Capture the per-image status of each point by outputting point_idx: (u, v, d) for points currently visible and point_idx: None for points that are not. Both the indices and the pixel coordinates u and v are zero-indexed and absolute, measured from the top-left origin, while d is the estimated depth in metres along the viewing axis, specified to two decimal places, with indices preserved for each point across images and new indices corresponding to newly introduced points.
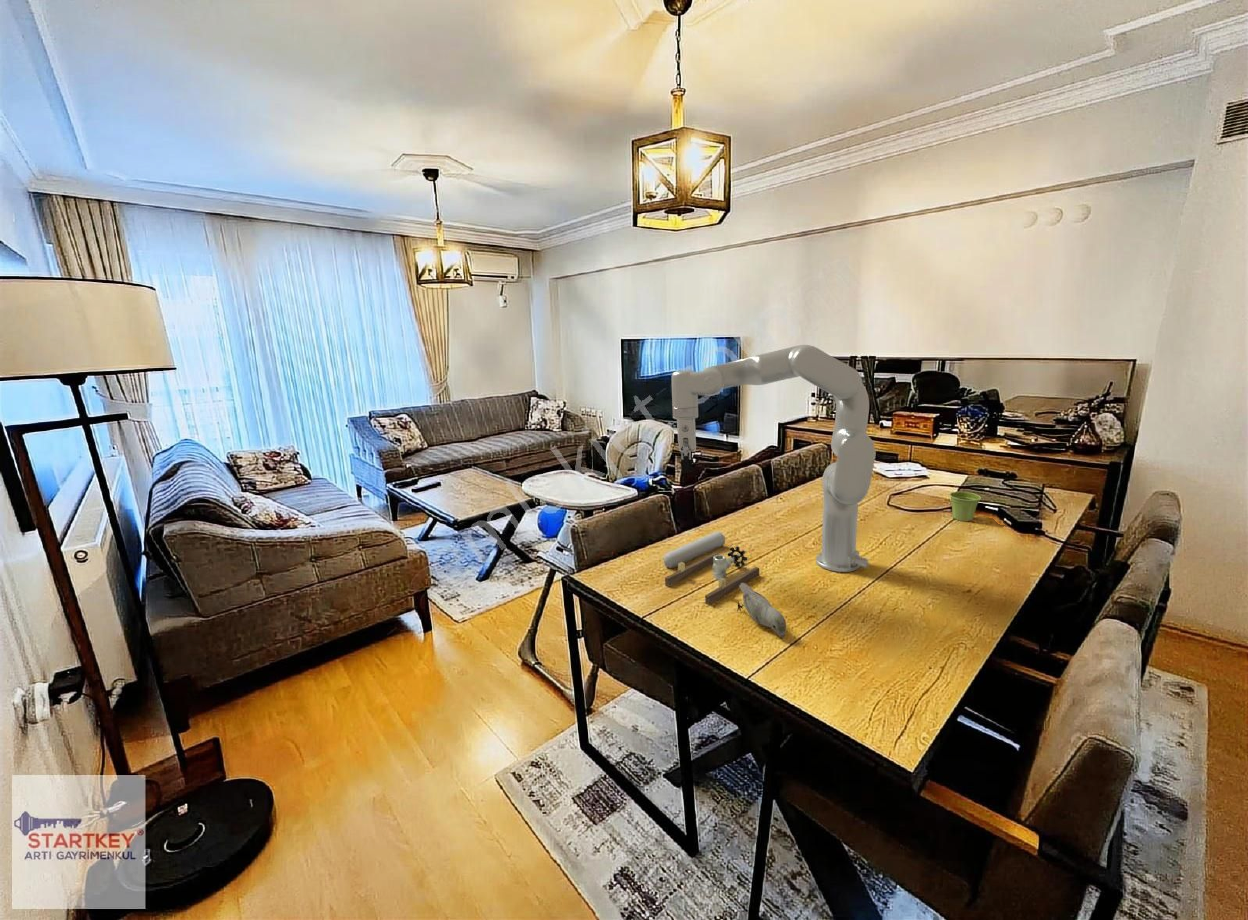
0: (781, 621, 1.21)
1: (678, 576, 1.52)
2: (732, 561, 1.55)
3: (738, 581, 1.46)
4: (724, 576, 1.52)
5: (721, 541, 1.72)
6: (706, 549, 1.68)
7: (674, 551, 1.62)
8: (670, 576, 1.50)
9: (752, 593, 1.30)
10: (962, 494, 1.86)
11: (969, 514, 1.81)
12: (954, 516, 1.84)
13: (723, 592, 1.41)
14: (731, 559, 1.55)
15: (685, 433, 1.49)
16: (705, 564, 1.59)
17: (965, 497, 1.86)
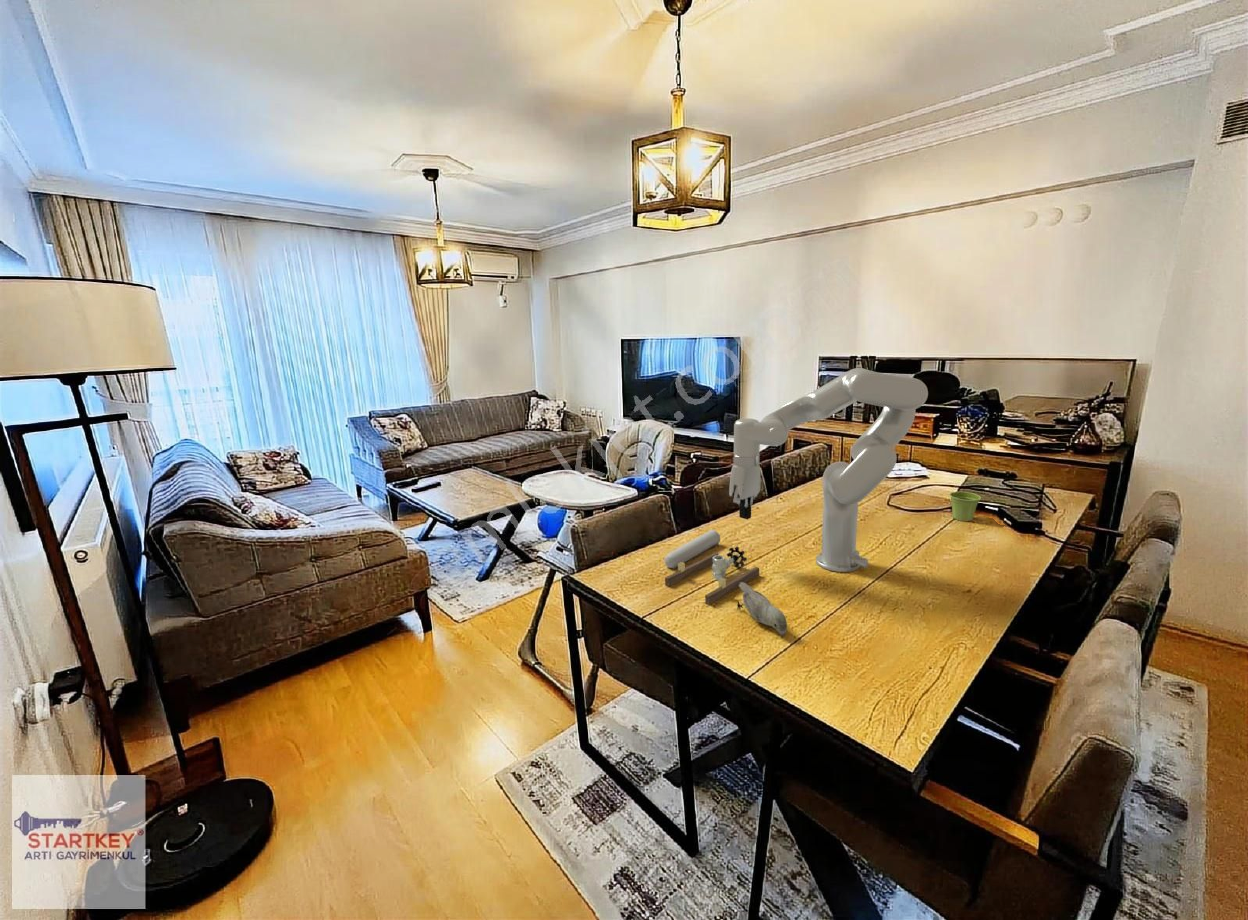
0: (782, 619, 1.21)
1: (678, 576, 1.52)
2: (731, 561, 1.55)
3: (738, 581, 1.46)
4: (723, 576, 1.51)
5: (716, 539, 1.74)
6: (704, 548, 1.69)
7: (675, 551, 1.62)
8: (670, 576, 1.50)
9: (752, 592, 1.30)
10: (962, 494, 1.86)
11: (969, 514, 1.81)
12: (954, 516, 1.84)
13: (723, 592, 1.41)
14: (730, 559, 1.55)
15: None
16: (705, 564, 1.59)
17: (965, 497, 1.86)
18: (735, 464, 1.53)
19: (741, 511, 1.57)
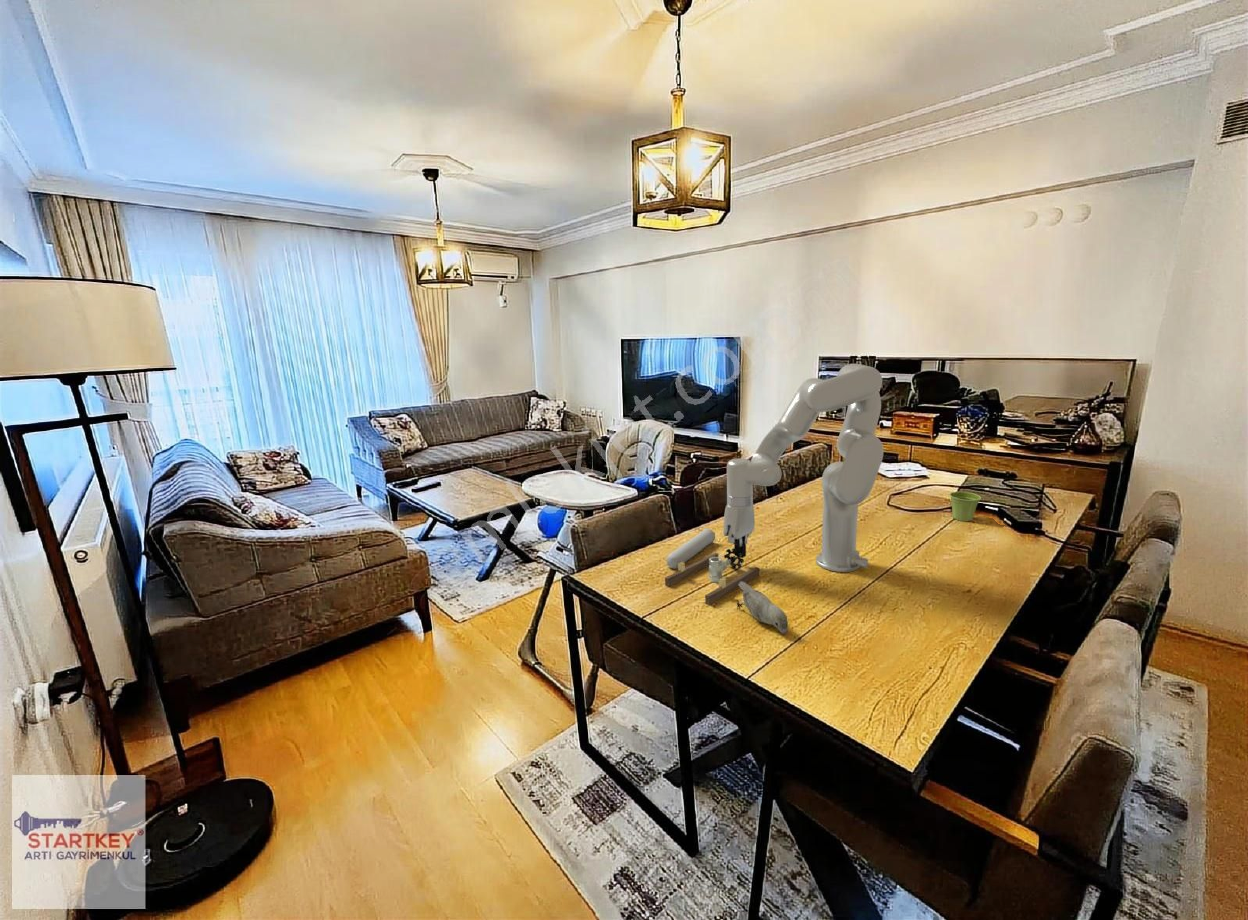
0: (783, 618, 1.22)
1: (678, 576, 1.52)
2: (728, 563, 1.54)
3: (738, 581, 1.46)
4: (720, 578, 1.50)
5: (712, 537, 1.75)
6: (702, 547, 1.70)
7: (676, 551, 1.62)
8: (670, 576, 1.50)
9: (752, 591, 1.31)
10: (962, 494, 1.86)
11: (969, 514, 1.81)
12: (954, 516, 1.84)
13: (723, 592, 1.41)
14: (727, 561, 1.54)
15: None
16: (705, 564, 1.59)
17: (965, 497, 1.86)
18: (728, 504, 1.54)
19: (736, 550, 1.58)
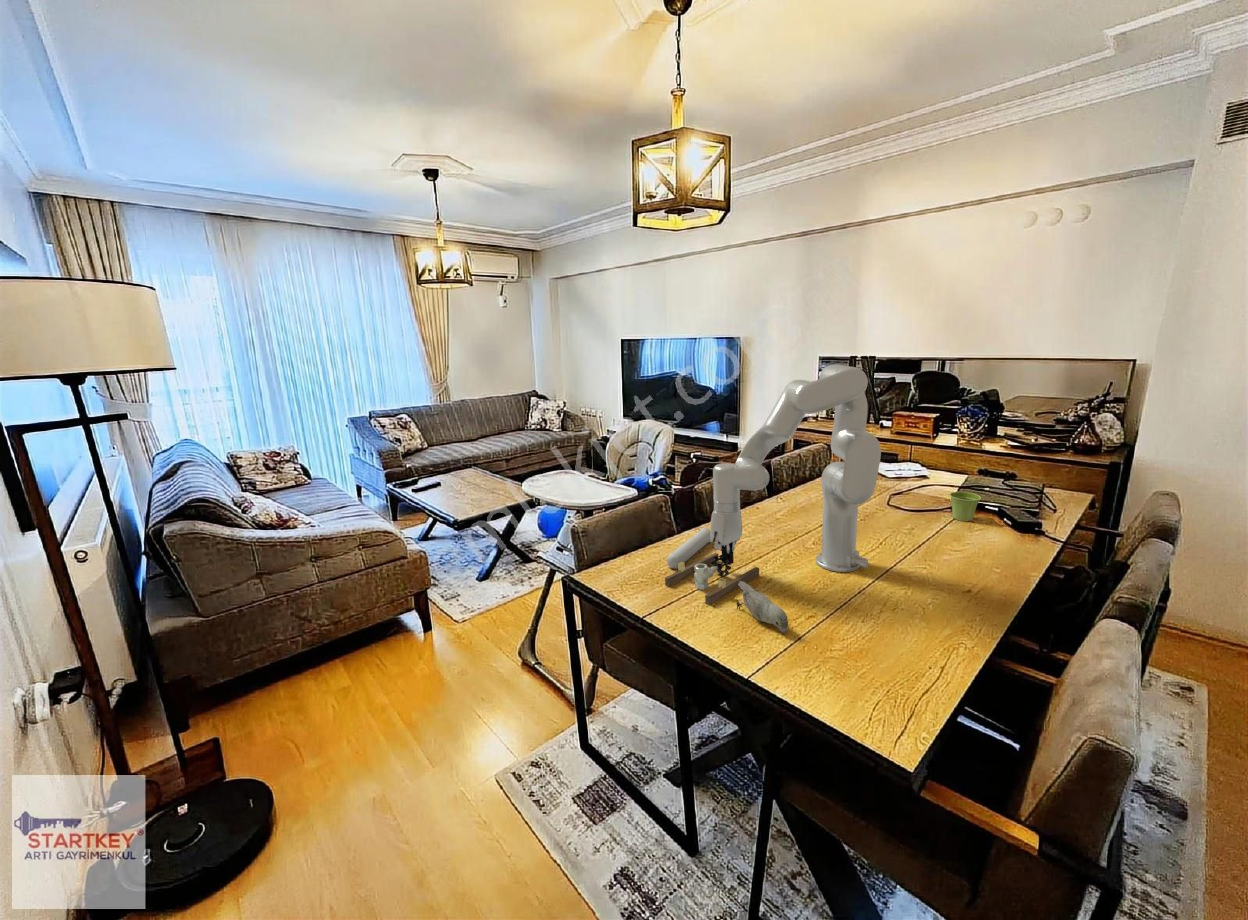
0: (784, 617, 1.22)
1: (678, 576, 1.52)
2: (715, 570, 1.50)
3: (738, 581, 1.46)
4: (706, 586, 1.46)
5: None
6: (700, 546, 1.70)
7: (676, 551, 1.62)
8: (670, 576, 1.50)
9: (752, 591, 1.31)
10: (962, 494, 1.86)
11: (969, 514, 1.81)
12: (954, 516, 1.84)
13: (723, 592, 1.41)
14: (714, 568, 1.50)
15: None
16: None
17: (965, 497, 1.86)
18: (715, 510, 1.50)
19: (723, 556, 1.54)
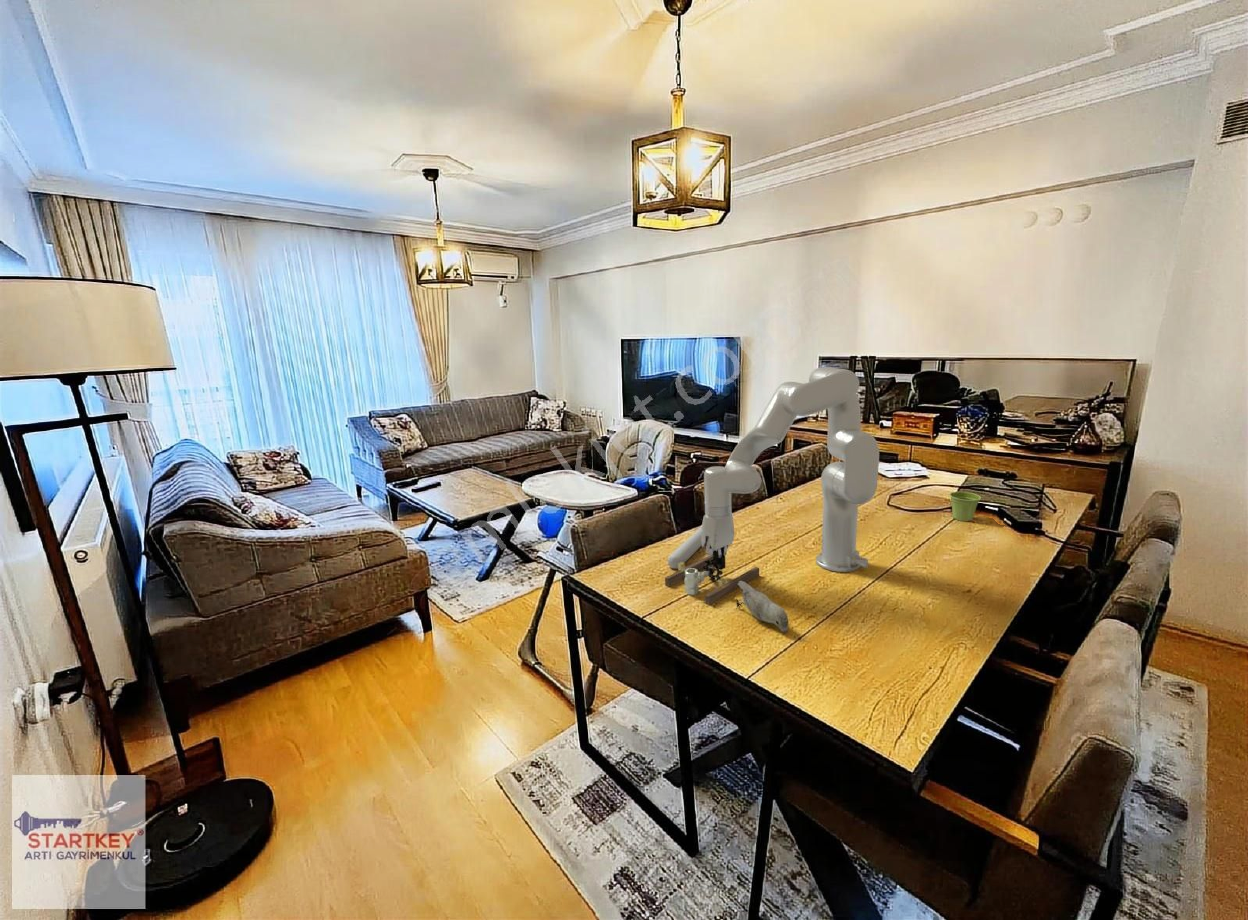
0: (784, 616, 1.23)
1: (678, 576, 1.52)
2: (706, 575, 1.47)
3: (738, 581, 1.46)
4: (696, 591, 1.44)
5: None
6: (699, 546, 1.71)
7: (676, 551, 1.62)
8: (670, 576, 1.50)
9: (752, 590, 1.31)
10: (962, 494, 1.86)
11: (969, 514, 1.81)
12: (954, 516, 1.84)
13: (723, 592, 1.41)
14: (705, 573, 1.48)
15: None
16: (705, 564, 1.59)
17: (965, 497, 1.86)
18: (706, 514, 1.47)
19: (715, 561, 1.51)
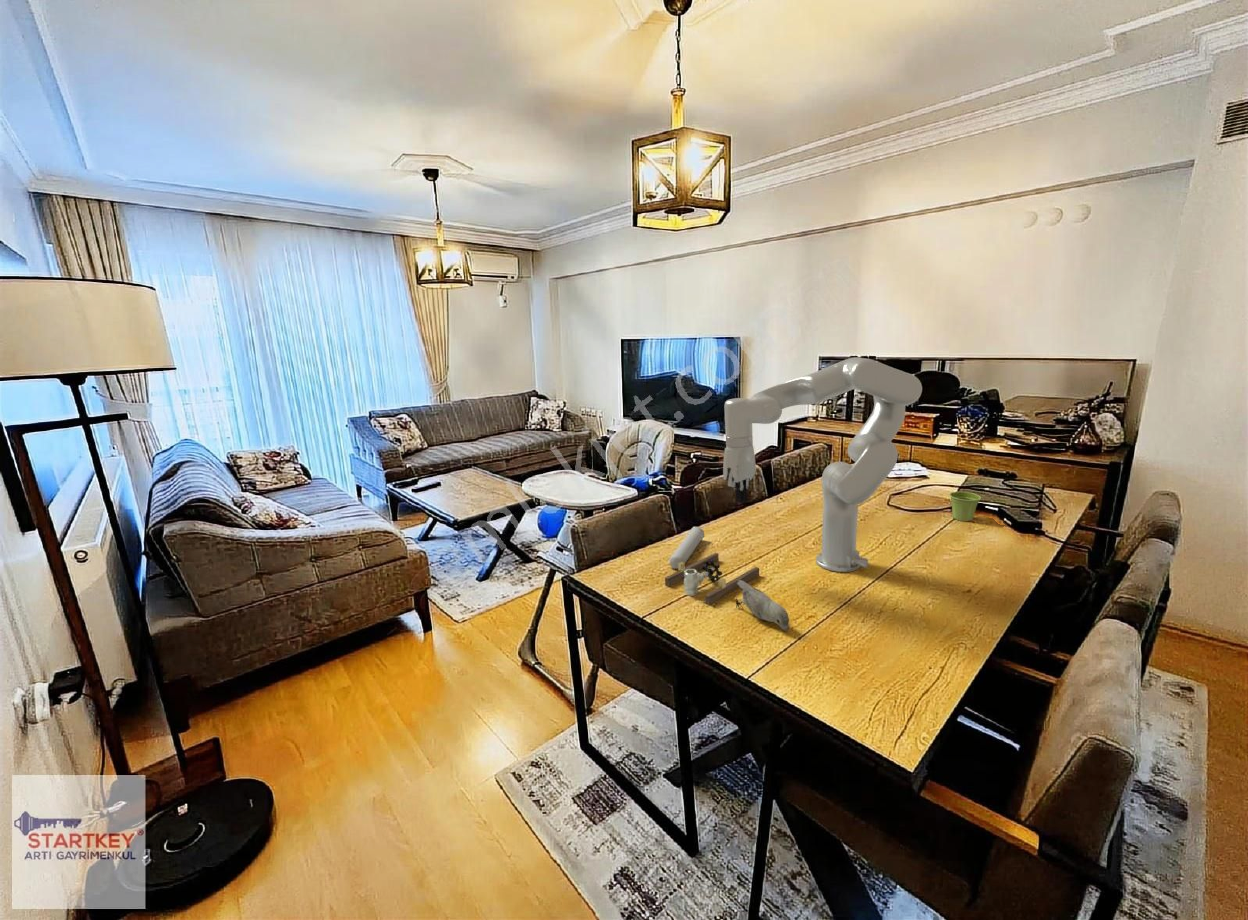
0: (785, 615, 1.23)
1: (678, 576, 1.52)
2: (705, 575, 1.47)
3: (738, 581, 1.46)
4: (695, 591, 1.44)
5: (702, 535, 1.78)
6: (696, 545, 1.72)
7: (677, 552, 1.62)
8: (670, 576, 1.50)
9: (751, 589, 1.32)
10: (962, 494, 1.86)
11: (969, 514, 1.81)
12: (954, 516, 1.84)
13: (723, 592, 1.41)
14: (704, 573, 1.47)
15: None
16: (705, 564, 1.59)
17: (965, 497, 1.86)
18: (728, 446, 1.47)
19: (737, 495, 1.51)
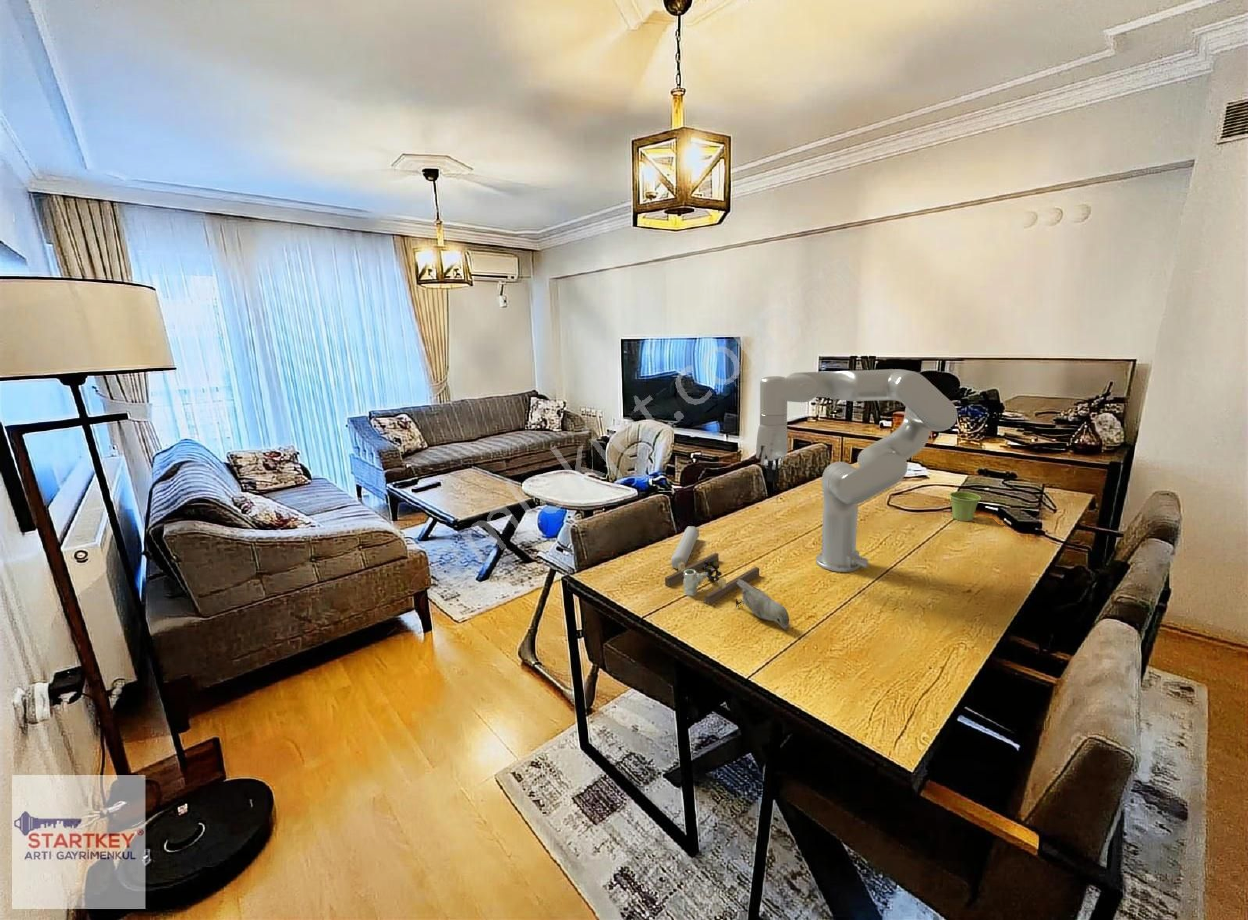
0: (785, 614, 1.24)
1: (678, 576, 1.52)
2: (705, 576, 1.47)
3: None
4: (695, 592, 1.44)
5: (697, 534, 1.79)
6: (693, 544, 1.72)
7: (678, 552, 1.61)
8: (670, 576, 1.50)
9: (751, 589, 1.32)
10: (962, 494, 1.86)
11: (969, 514, 1.81)
12: (954, 516, 1.84)
13: (723, 592, 1.41)
14: (704, 574, 1.47)
15: None
16: (705, 564, 1.59)
17: (965, 497, 1.86)
18: (762, 424, 1.47)
19: (768, 474, 1.51)
